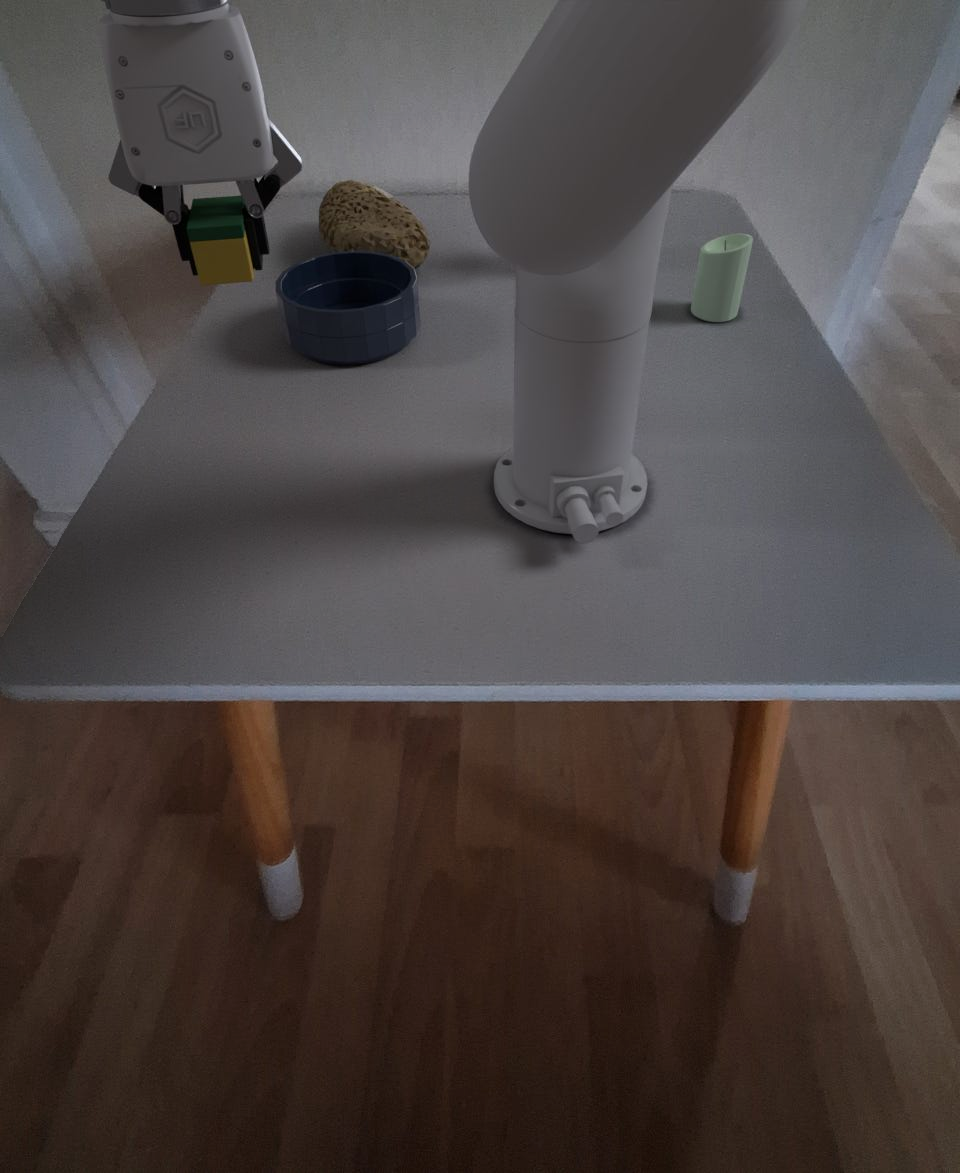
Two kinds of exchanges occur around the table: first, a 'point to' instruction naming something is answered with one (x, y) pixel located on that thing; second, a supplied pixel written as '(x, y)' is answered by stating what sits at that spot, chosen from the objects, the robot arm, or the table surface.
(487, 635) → the table surface
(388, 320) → the bowl
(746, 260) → the candle
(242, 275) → the scrub sponge
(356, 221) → the sponge
